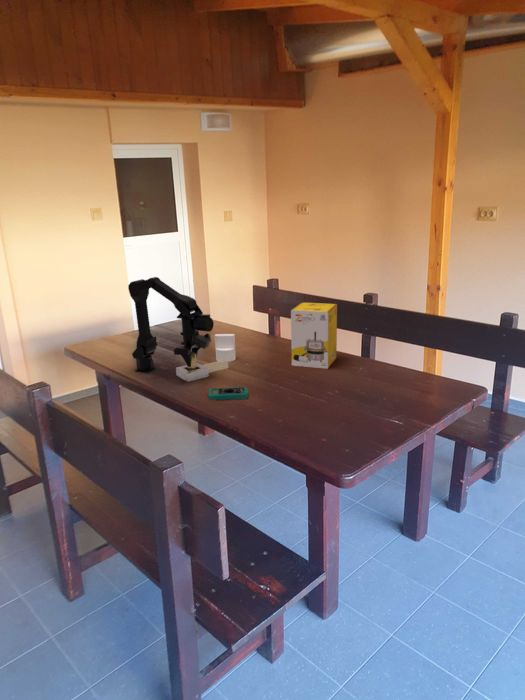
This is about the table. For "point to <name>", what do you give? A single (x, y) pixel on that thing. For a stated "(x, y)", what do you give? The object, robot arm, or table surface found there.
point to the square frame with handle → (200, 370)
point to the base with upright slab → (225, 347)
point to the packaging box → (314, 335)
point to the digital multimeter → (228, 393)
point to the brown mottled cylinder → (193, 363)
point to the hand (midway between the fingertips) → (191, 365)
